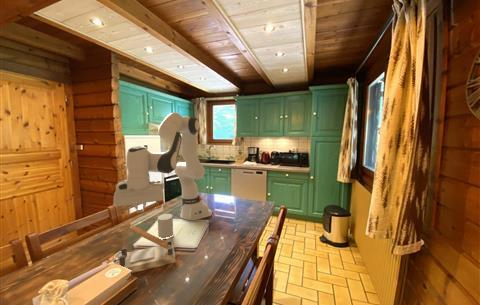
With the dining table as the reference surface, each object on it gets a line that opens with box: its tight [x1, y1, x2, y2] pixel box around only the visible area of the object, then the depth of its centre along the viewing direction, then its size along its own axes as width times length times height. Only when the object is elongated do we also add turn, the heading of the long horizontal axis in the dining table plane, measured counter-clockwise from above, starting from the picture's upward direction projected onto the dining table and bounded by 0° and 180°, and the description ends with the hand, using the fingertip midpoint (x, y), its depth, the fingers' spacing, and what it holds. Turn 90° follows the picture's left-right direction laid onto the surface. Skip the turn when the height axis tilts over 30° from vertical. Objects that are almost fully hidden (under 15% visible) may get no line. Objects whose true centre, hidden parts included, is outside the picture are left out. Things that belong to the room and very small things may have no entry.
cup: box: [157, 213, 174, 238], centre depth 115 cm, size 8×8×12 cm
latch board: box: [117, 239, 176, 274], centre depth 93 cm, size 24×12×7 cm, turn 113°
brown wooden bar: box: [129, 224, 172, 249], centre depth 93 cm, size 22×4×2 cm
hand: (140, 212), depth 90 cm, fingers closed
